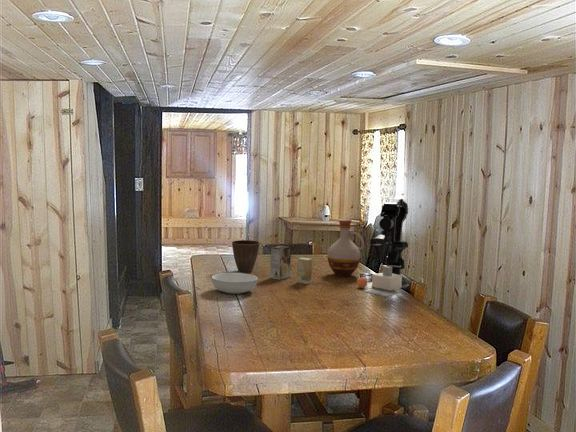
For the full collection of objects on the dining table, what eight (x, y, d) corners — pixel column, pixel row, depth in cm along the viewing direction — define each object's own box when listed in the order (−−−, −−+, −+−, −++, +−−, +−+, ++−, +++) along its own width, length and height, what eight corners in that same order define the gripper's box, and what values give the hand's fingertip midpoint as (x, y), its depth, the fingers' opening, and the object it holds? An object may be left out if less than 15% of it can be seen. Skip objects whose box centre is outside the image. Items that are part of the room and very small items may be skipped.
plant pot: (257, 274, 285) (258, 244, 284) (229, 273, 286) (230, 243, 284) (259, 269, 300) (260, 240, 299) (233, 268, 301) (233, 239, 299)
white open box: (384, 283, 272) (384, 264, 271) (401, 287, 265) (402, 267, 264) (372, 286, 265) (372, 266, 264) (389, 290, 258) (390, 269, 257)
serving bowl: (250, 298, 235) (250, 283, 234) (204, 295, 239) (204, 279, 238) (262, 288, 255) (262, 274, 254) (219, 285, 259) (220, 271, 258)
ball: (360, 286, 265) (361, 276, 265) (368, 287, 262) (369, 277, 262) (354, 287, 262) (354, 277, 261) (362, 289, 258) (363, 279, 258)
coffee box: (280, 275, 285) (281, 245, 284) (290, 277, 282) (291, 246, 280) (269, 278, 278) (270, 247, 277) (279, 279, 274) (280, 248, 273)
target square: (379, 288, 262) (379, 287, 262) (400, 292, 254) (400, 292, 254) (364, 291, 254) (364, 291, 253) (385, 296, 245) (385, 296, 245)
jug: (362, 272, 299) (364, 218, 296) (363, 279, 281) (366, 222, 278) (326, 271, 301) (328, 217, 298) (325, 277, 283) (328, 220, 280)
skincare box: (296, 282, 269) (297, 258, 268) (300, 281, 273) (301, 257, 272) (308, 284, 266) (308, 259, 265) (311, 282, 270) (312, 258, 269)
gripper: (363, 227, 263) (362, 259, 264) (396, 231, 250) (394, 264, 251) (377, 226, 271) (375, 257, 272) (409, 230, 258) (407, 262, 259)
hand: (387, 260), depth 264 cm, fingers open, 9 cm apart
